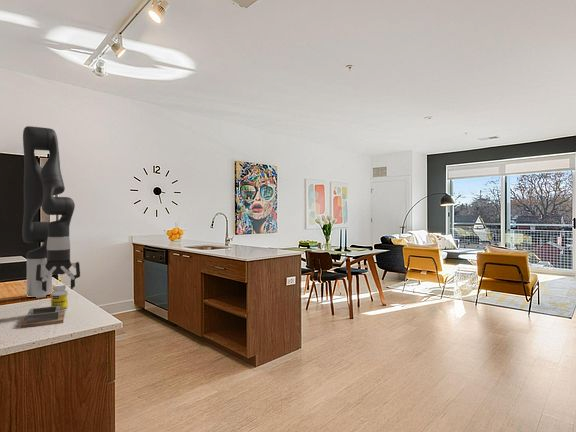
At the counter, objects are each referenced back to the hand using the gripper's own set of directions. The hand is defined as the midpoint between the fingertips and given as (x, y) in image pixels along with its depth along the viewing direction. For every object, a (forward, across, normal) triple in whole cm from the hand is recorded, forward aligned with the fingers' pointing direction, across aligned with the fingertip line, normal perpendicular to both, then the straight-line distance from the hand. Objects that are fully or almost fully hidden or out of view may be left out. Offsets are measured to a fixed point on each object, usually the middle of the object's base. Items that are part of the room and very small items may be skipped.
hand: (58, 289), depth 135 cm
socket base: (+8, +4, +10) cm, 14 cm away
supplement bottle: (+8, 0, -1) cm, 8 cm away
